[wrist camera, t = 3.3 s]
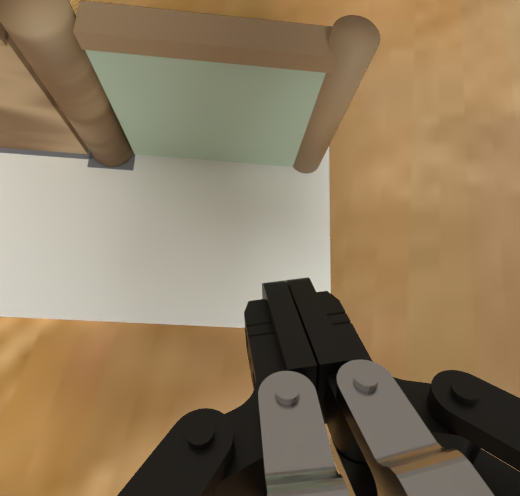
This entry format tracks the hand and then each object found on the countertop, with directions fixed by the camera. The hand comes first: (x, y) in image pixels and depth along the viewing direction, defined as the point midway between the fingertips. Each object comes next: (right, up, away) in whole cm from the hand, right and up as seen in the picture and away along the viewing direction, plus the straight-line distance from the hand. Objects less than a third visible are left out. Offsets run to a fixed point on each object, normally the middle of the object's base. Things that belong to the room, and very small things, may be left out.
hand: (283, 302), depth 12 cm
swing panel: (-3, +7, +10) cm, 13 cm away
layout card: (-7, +6, +10) cm, 13 cm away
